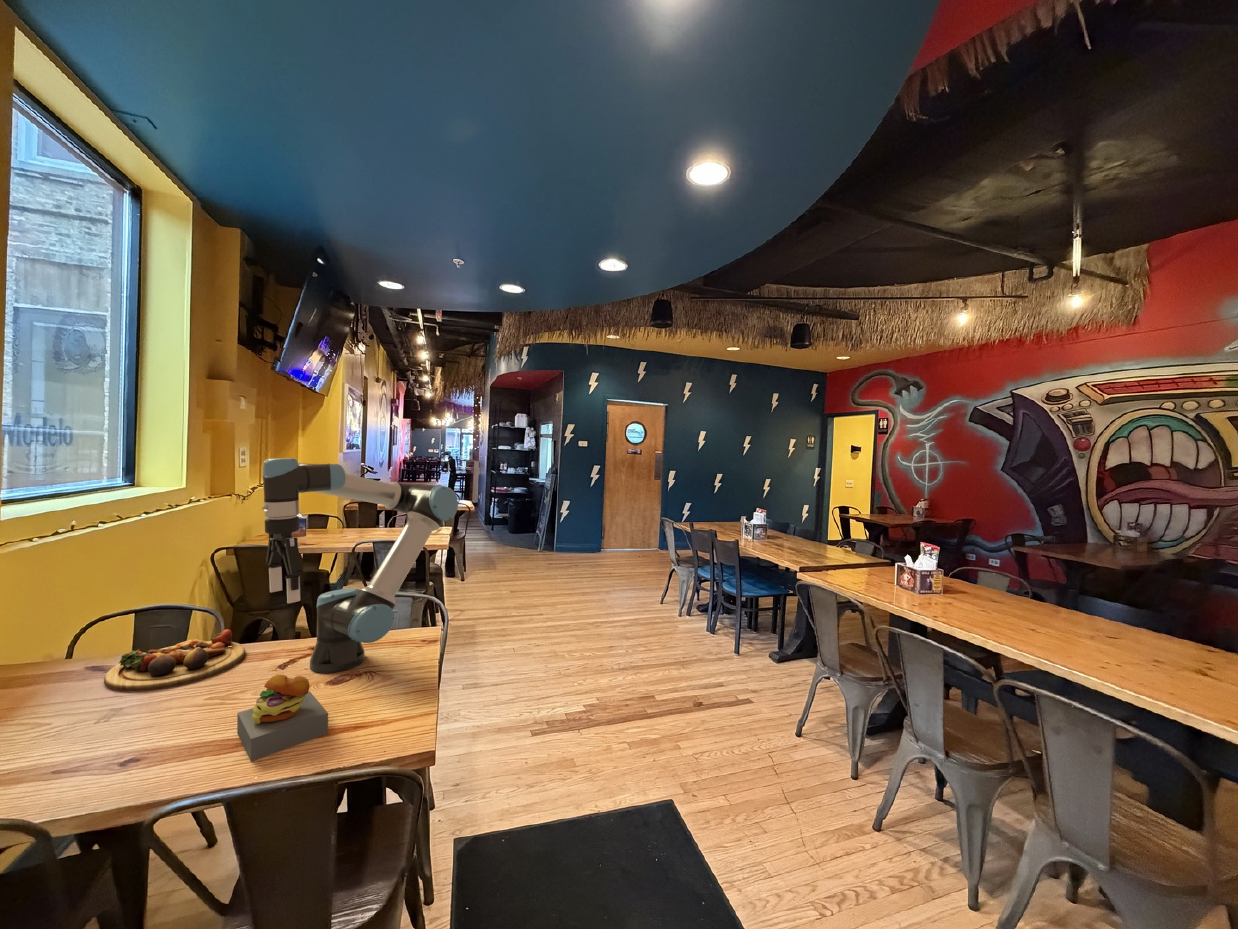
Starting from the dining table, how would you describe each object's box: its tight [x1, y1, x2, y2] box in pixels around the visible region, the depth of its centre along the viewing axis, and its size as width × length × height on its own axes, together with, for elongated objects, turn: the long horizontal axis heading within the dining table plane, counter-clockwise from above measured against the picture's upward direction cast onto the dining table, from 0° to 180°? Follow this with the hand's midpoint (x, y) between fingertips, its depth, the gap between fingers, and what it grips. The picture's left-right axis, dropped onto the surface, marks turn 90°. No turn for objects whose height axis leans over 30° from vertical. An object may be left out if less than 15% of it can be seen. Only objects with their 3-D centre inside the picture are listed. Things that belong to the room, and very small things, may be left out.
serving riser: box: [236, 690, 329, 762], centre depth 116 cm, size 15×15×5 cm
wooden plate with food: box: [103, 629, 246, 692], centre depth 149 cm, size 32×32×8 cm
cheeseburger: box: [252, 674, 310, 724], centre depth 116 cm, size 10×11×10 cm
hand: (284, 596), depth 128 cm, fingers open, 13 cm apart
